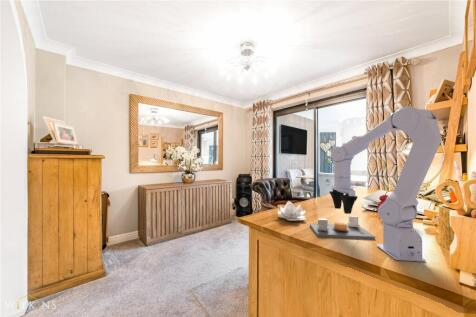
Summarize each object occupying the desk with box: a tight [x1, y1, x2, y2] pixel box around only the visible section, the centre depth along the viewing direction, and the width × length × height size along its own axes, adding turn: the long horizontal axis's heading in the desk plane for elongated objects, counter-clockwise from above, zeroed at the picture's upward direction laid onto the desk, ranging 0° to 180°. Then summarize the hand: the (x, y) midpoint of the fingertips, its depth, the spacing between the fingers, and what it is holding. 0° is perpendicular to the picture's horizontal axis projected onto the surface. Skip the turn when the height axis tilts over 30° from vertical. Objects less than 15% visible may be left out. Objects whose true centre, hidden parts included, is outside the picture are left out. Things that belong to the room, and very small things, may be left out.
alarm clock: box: [376, 190, 394, 220], centre depth 91 cm, size 10×6×15 cm, turn 79°
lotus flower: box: [277, 200, 307, 221], centre depth 95 cm, size 14×15×9 cm
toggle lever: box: [347, 215, 361, 227], centre depth 81 cm, size 2×4×4 cm, turn 83°
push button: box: [333, 221, 348, 231], centre depth 76 cm, size 4×4×2 cm
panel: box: [309, 223, 376, 240], centre depth 77 cm, size 12×20×1 cm, turn 83°
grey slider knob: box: [317, 218, 329, 231], centre depth 76 cm, size 2×4×4 cm, turn 83°
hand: (342, 210), depth 78 cm, fingers open, 7 cm apart
